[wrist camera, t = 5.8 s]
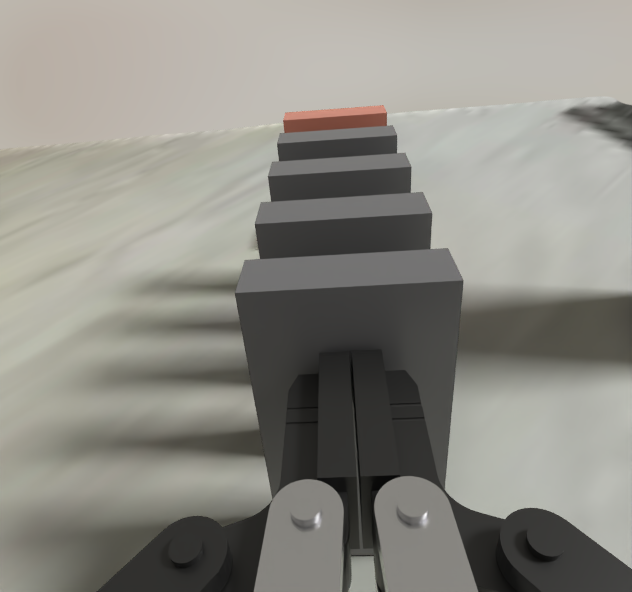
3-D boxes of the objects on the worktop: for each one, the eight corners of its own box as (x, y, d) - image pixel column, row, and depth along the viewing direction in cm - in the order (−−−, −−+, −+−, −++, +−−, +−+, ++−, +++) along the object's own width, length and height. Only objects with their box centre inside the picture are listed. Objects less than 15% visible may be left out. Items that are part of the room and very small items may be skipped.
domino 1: (283, 557, 16) (234, 292, 11) (286, 513, 18) (244, 260, 12) (438, 553, 16) (463, 280, 11) (429, 508, 17) (448, 248, 12)
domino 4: (298, 334, 26) (277, 143, 21) (300, 316, 28) (280, 133, 22) (394, 329, 26) (396, 135, 21) (390, 312, 27) (392, 125, 22)
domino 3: (295, 386, 23) (267, 176, 18) (296, 364, 24) (272, 162, 19) (404, 382, 23) (411, 166, 17) (400, 359, 24) (404, 152, 19)
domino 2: (290, 457, 20) (254, 223, 14) (292, 426, 21) (260, 202, 16) (418, 452, 19) (431, 212, 14) (412, 421, 21) (422, 192, 15)
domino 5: (301, 293, 30) (283, 120, 24) (302, 279, 31) (285, 112, 26) (386, 288, 29) (386, 112, 24) (383, 274, 31) (383, 105, 25)
